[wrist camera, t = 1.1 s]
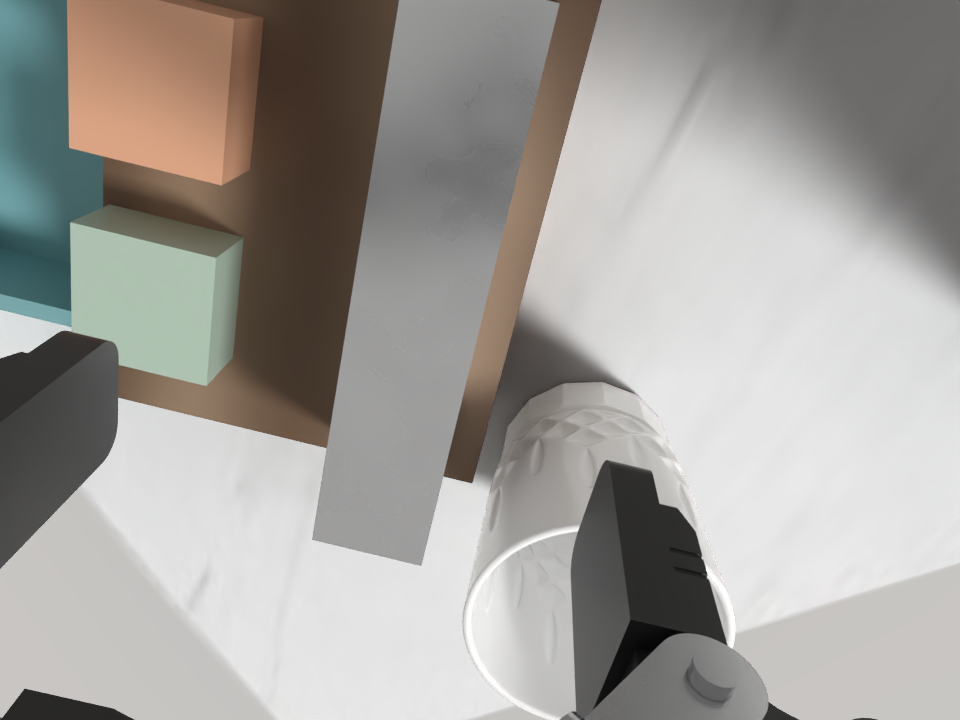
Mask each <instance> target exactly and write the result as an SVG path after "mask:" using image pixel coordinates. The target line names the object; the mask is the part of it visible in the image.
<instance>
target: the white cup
mask: <svg viewBox="0 0 960 720" xmlns="http://www.w3.org/2000/svg"><path fill="white" fill-rule="evenodd" d="M606 460H610V461H614V462H618V463H622V464H626V465H631V466H635V467H639V468H643V469H648V470H651V471H652V473H653V477H654V481H655V486H656V490H657V495H658V499H659V504H663V505H667V506H672V507H676V508H678V509H679V511H680V512H681V513H682V514H683V516H684V517H685V518H686V520H687V521H688V522H689V523H690V525H691V526H692V527H693V529H694V530H695V531H696V534H697V538H698V541H699V545H700V549H701V552H702V559H703V560H704V563H705V566H706V570H707V574H708V575H707V579H709V581H710V584H711V588H712V592H713V595H714V599H715V602H716V606H717V609H718V613H719V617H720V620H721V624H722V627H723V631H724V635H725V638H726V642H727V645H728V647H730V648H733V644H734V639H735V617H734V611H733V607H732V604H731V601H730V598H729V595H728V593H727V590H726V587H725V584H724V582H723V579H722V576H721V573H720V571H719V568H718V565H717V562H716V560H715V557H714V554H713V551H712V548H711V545H710V543H709V540H708V537H707V534H706V531H705V528H704V525H703V523H702V520H701V517H700V514H699V511H698V508H697V505H696V503H695V500H694V497H693V495H692V492H691V491H690V488H689V485H688V483H687V480H686V478H685V475H684V473H683V470H682V468H681V466H680V464H679V462H678V461H677V459H676V457H675V455H674V454H673V452H672V449H671V447H670V443H669V440H668V437H667V434H666V431H665V428H664V425H663V422H662V421H661V420H660V418H659V417H658V416H657V415H656V414H655V413H654V412H653V411H652V410H651V409H650V408H649V407H648V406H647V405H646V404H645V403H644V402H643V401H642V400H641V399H640V397H639V396H637V395H635V394H633V393H630V392H628V391H625V390H622V389H620V388H617V387H614V386H612V385H609V384H607V383H604V382H581V383H563V384H560V385H558V386H556V387H554V388H552V389H550V390H548V391H546V392H544V393H542V394H539V395H537V396H535V397H533V398H531V399H529V401H528V402H527V403H526V404H525V405H524V407H523V408H522V409H521V410H520V412H519V413H518V414H517V415H516V417H515V418H514V419H513V420H512V422H511V423H510V424H509V425H508V428H507V432H506V438H505V443H504V448H503V453H502V456H501V460H500V463H499V465H498V467H497V469H496V471H495V473H494V478H493V482H492V485H491V489H490V493H489V497H488V500H487V505H486V509H485V514H484V519H483V523H482V528H481V533H480V537H479V542H478V546H477V551H476V556H475V560H474V565H473V570H472V574H471V579H470V583H469V588H468V592H467V597H466V601H465V606H464V611H463V634H464V640H465V644H466V647H467V650H468V653H469V655H470V657H471V659H472V661H473V663H474V665H475V667H476V668H477V670H478V671H479V673H480V674H481V675H482V677H483V678H484V679H485V680H486V681H487V682H488V683H489V684H490V686H491V687H493V688H494V689H495V690H496V691H497V692H498V693H499V694H500V695H502V696H503V697H504V698H506V699H507V700H509V701H510V702H512V703H513V704H515V705H516V706H518V707H520V708H522V709H524V710H526V711H528V712H530V713H532V714H534V715H537V716H539V717H542V718H545V719H548V720H560V719H561V718H562V717H563V716H565V715H566V714H568V713H569V712H572V711H575V712H576V696H575V671H574V646H573V621H572V596H571V560H572V554H573V548H574V544H575V540H576V536H577V533H578V530H579V527H580V525H581V522H582V519H583V516H584V513H585V510H586V508H587V505H588V502H589V499H590V496H591V493H592V491H593V488H594V485H595V482H596V479H597V476H598V474H599V471H600V469H601V466H602V464H603V463H604V462H605V461H606Z"/></svg>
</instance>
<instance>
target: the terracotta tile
mask: <svg viewBox="0 0 960 720" xmlns="http://www.w3.org/2000/svg"><path fill="white" fill-rule="evenodd" d="M263 20H264V17H260V16H256V15H252V14H248V13H244V12H240V11H236V10H232V9H228V8H224V7H220V6H216V5H212V4H208V3H204V2H200V1H196V0H67V29H68V101H69V148H72V149H76V150H80V151H84V152H88V153H92V154H96V155H100V156H104V157H108V158H112V159H116V160H120V161H124V162H128V163H133V164H137V165H141V166H145V167H149V168H153V169H157V170H161V171H165V172H169V173H173V174H177V175H181V176H185V177H189V178H193V179H197V180H201V181H205V182H210V183H214V184H218V185H223V184H225V183H227V182H229V181H231V180H232V179H234V178H236V177H238V176H240V175H242V174H243V173H245V172H247V171H249V170H250V163H251V152H252V141H253V130H254V119H255V108H256V97H257V86H258V75H259V64H260V53H261V42H262V31H263Z"/></svg>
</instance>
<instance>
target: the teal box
mask: <svg viewBox="0 0 960 720" xmlns="http://www.w3.org/2000/svg"><path fill="white" fill-rule="evenodd" d="M100 208H103V156H100V155H96V154H92V153H88V152H84V151H80V150H76V149H72V148H69V101H68V29H67V0H0V310H4V311H8V312H12V313H16V314H20V315H24V316H29V317H33V318H37V319H41V320H45V321H49V322H53V323H57V324H61V325H66V326H70V327H72V316H71V244H70V222H72V221H74V220H76V219H78V218H81V217H83V216H85V215H87V214H89V213H92V212H94V211H96V210H98V209H100Z"/></svg>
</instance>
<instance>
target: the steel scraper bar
mask: <svg viewBox="0 0 960 720" xmlns="http://www.w3.org/2000/svg"><path fill="white" fill-rule="evenodd" d="M559 4H560V3H557V2H553V1H549V0H399V4H398V10H397V17H396V23H395V29H394V35H393V41H392V48H391V54H390V60H389V66H388V72H387V79H386V85H385V91H384V97H383V103H382V110H381V116H380V122H379V128H378V134H377V141H376V147H375V153H374V159H373V165H372V172H371V178H370V184H369V190H368V196H367V203H366V209H365V215H364V221H363V227H362V234H361V240H360V246H359V252H358V258H357V265H356V271H355V277H354V283H353V289H352V296H351V302H350V308H349V314H348V320H347V327H346V333H345V339H344V345H343V351H342V358H341V364H340V370H339V376H338V382H337V389H336V395H335V401H334V407H333V413H332V420H331V426H330V432H329V438H328V444H327V451H326V457H325V463H324V469H323V475H322V482H321V488H320V494H319V500H318V507H317V513H316V519H315V525H314V531H313V538H312V540H316V541H320V542H324V543H328V544H333V545H337V546H341V547H345V548H349V549H353V550H358V551H362V552H366V553H370V554H374V555H378V556H382V557H387V558H391V559H395V560H399V561H403V562H407V563H412V564H416V565H420V566H421V565H422V560H423V556H424V552H425V548H426V544H427V540H428V536H429V532H430V528H431V524H432V520H433V516H434V512H435V508H436V504H437V500H438V496H439V491H440V487H441V483H442V479H443V475H444V471H445V467H446V463H447V459H448V455H449V451H450V447H451V443H452V439H453V435H454V431H455V427H456V422H457V418H458V414H459V410H460V406H461V402H462V398H463V394H464V390H465V386H466V382H467V378H468V374H469V370H470V366H471V362H472V358H473V353H474V349H475V345H476V341H477V337H478V333H479V329H480V325H481V321H482V317H483V313H484V309H485V305H486V301H487V297H488V293H489V289H490V284H491V280H492V276H493V272H494V268H495V264H496V260H497V256H498V252H499V248H500V244H501V240H502V236H503V232H504V228H505V224H506V220H507V215H508V211H509V207H510V203H511V199H512V195H513V191H514V187H515V183H516V179H517V175H518V171H519V167H520V163H521V159H522V155H523V151H524V146H525V142H526V138H527V134H528V130H529V126H530V122H531V118H532V114H533V110H534V106H535V102H536V98H537V94H538V90H539V86H540V82H541V77H542V73H543V69H544V65H545V61H546V57H547V53H548V49H549V45H550V41H551V37H552V33H553V29H554V25H555V21H556V17H557V13H558V8H559Z"/></svg>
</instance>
